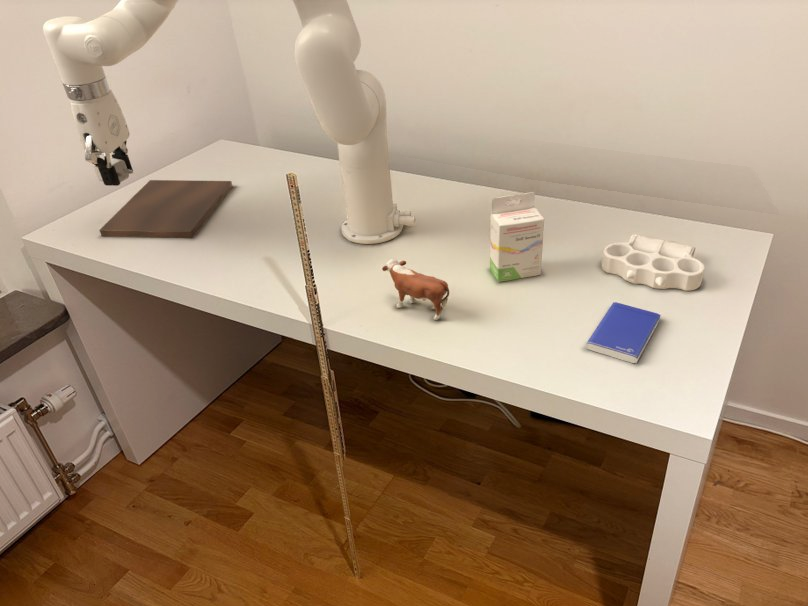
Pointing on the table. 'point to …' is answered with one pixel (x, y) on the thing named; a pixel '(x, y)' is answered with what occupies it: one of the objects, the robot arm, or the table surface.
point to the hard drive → (623, 332)
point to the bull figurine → (417, 286)
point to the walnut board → (167, 209)
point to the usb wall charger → (117, 169)
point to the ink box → (516, 237)
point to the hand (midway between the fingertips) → (119, 178)
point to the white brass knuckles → (654, 263)
